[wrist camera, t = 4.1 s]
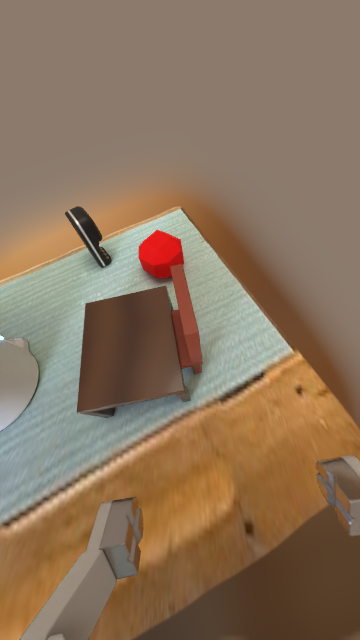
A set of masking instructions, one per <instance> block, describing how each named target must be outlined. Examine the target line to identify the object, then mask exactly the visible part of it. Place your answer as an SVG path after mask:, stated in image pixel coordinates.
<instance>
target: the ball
mask: <svg viewBox="0 0 360 640" xmlns="http://www.w3.org/2000/svg"><path fill="white" fill-rule="evenodd" d="M139 259H140V262H141V264H142V267H143V269H144V270H145V271H147V272H148V273H150V274H152V275H153V276H155V277H156V278H167V277H169V276H172V273H171V268H170V266H175V265H179V264H182V265H183V264H184V260H183V252H182V246H181V240H180V239H178V238H176V237H174V236H172V235H170V234H167V233H165V232H162V231H159V230H156V231H155V232H154V233H153V234H152V235H150V236H149V237H148V238H147V239H146V240H144V241H143V242H142V244H141V245H140V246H139Z"/></svg>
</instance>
